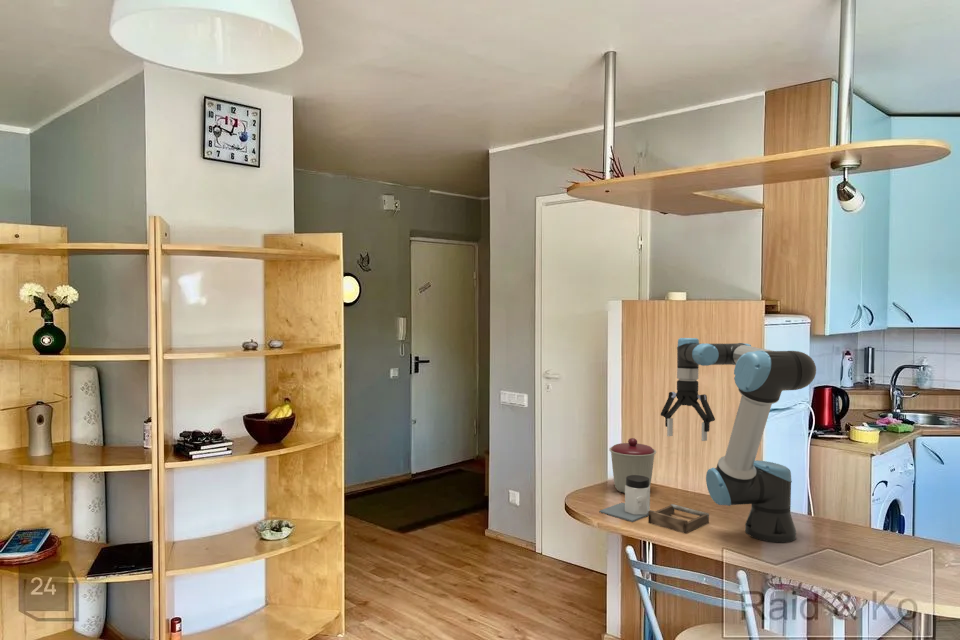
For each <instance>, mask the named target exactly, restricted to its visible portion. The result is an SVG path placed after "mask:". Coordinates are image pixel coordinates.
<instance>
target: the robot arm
mask: <svg viewBox="0 0 960 640" xmlns="http://www.w3.org/2000/svg"><path fill="white" fill-rule="evenodd" d="M676 349H677V351H676V353H677V357H676V358H677V360H676V361H677V362H676V365H677V367H676V379H678V380H677V381H676V390H677V391H676V392H675V391H669V392H668V398H667V399H666V402H665V404H664V406H663V408H662V410H661V411H660V416H661V417H664V418H665V420H664V421H665V422H664V423H665V425H664V426H665V427H667V428H666V436H667V437H672V436H673V433H674V431H673V430H674V429H673V428H674V426H673V425H674V418H673V417H672V416H674V415H675V413H676V412H677V410H678V409H680V407H681V406H687V407H692V408H694V410H695V411H696V412H697V414H698V415H699V416H700V418H701V419H702V421H703V422H701V442H706V441H708V432H710V429H711V428H710V426H711V425H710V423H711V422H714V421H716V418H715V416H714V414H713V411H712V409H711V407H710V404H709V402H708V397H707V394H699V381H697V380H699V368H700V367H699V366H703V367H705V366H706V367H707V366H717V365H718V366H723V365H724V366H725V365H726V366H727V365H728V366H729V365H730V366H734V370H733V375H734V378H733V380H734V383H735V386H736V387H737V388H738V389H737V390H738V392H739V393H740V395H741V397H740V401H739V405H738V408H737V412H736V415H735V419H734V422H733V427H732V430H731V433H730V436H729V440H728V444H727V448H726V451H725V455H723V456H721V457H720V458H719V459H718V461H717V464H716V467H710V468H708V469H707V471H706V475H705V482H706V483H705V484H706V487H707V492H708V493H709V496H710V498H711V500H712V501H713V502H714V503H715V504H716V505H719V506H729V507H730V506H735V505H737V506H739V505H740V506H741V505H751V508H750V511H749V513H748V516H747V520H746V522H745V525H744V526H745V528H744V532H745V533H746V535H748V536H749V537H751V538H754V539H757V540H761V541H763V542H765V541H766V542H770V543H791V542H793V541H795V540H796V539H797V530H796V527H795V524H794V523H795V522H794V520H793V516H792V514H791V507H792V506H791V504H792V501H791V500H792V498H791V497H792V483H793V482H792V481H793V480H792V473H791V469H790V468H788V467H787V466H786V465H784V464H779V463H776V462H773V461H772V462H771V461H766V460H756V459H757V458H756V457H757V453H758V451H759V447H760V445H761V441H762V437H763V435H764V432H765V428H766V426H767V425H766V424H767V422H768V418H769V415H770V411H771V408H772V405H773V404H776V403H778V402H779V400H780V397H781V396H782V395H781V394H782V392H784V391H797V390H801V389H804V388H806V387H808V386H809V385H811V383H813V381H814V380H815V378H816V374H817V366H816V363H815V361H814V360H813V358H812V357H811V356H809V355H808V354H807V353H806V352H802V351H798V350H771V349H766V348H761V347H756V346H752V345H751V344H750V343H743V342H738V343H707V342H706V343H704V342H703V343H700V340H699V338H697V337H679V338H678V340H677V346H676ZM676 398H677V400H676V401H675V402H674V400H675V399H676ZM698 400H699V401H700V403H699V402H698ZM673 402H674V405H673ZM700 404H701V405H702V406H701V405H700ZM672 405H673V406H672ZM790 541H791V542H790Z"/></svg>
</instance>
